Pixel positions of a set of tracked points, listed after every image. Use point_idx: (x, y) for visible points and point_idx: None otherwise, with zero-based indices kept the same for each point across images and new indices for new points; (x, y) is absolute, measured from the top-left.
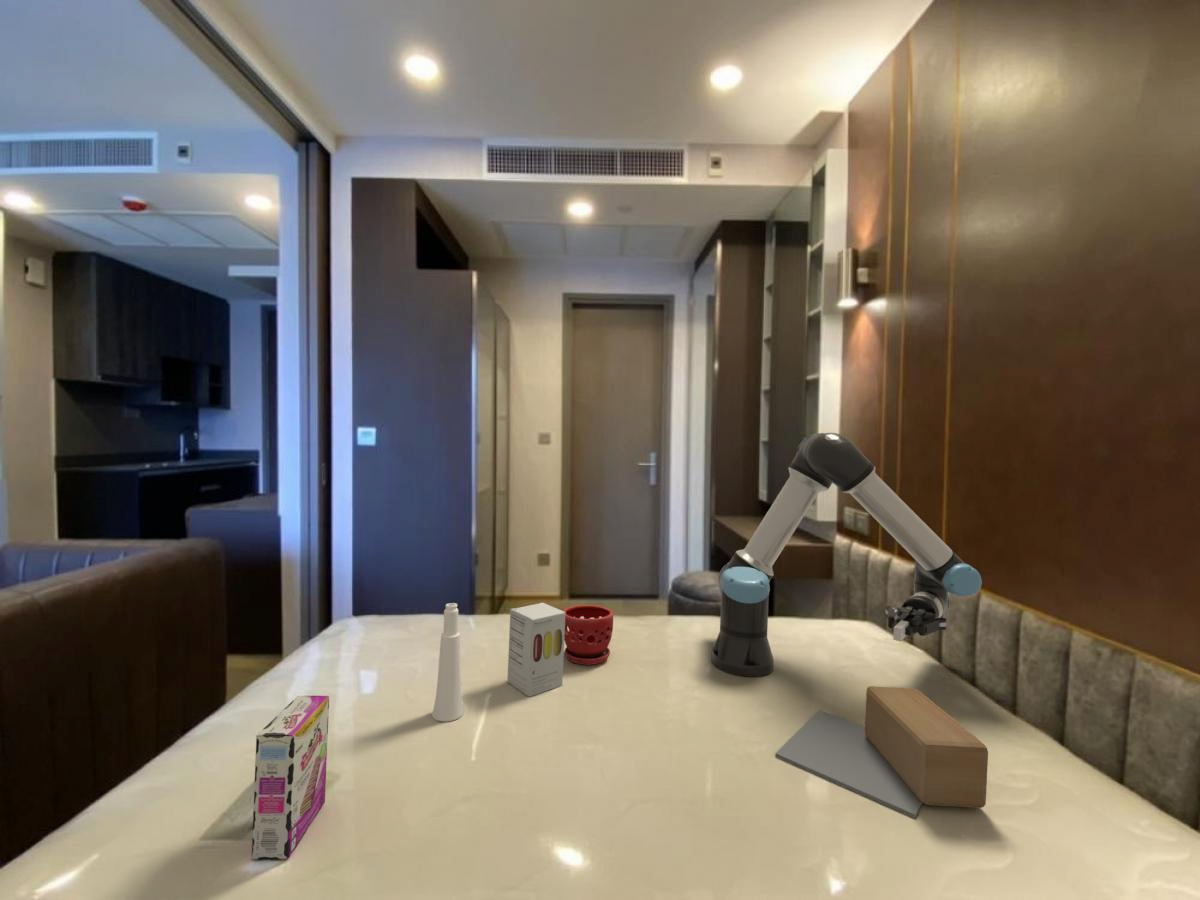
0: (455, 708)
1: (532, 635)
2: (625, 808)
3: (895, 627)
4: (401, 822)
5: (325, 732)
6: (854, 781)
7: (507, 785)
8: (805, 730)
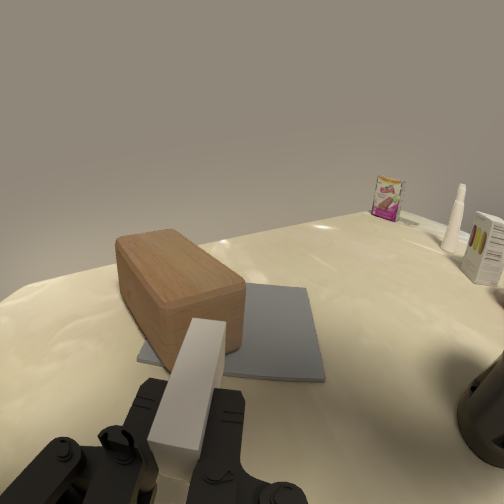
0: (443, 242)
1: (473, 223)
2: (331, 240)
3: (218, 322)
4: (373, 223)
5: (397, 193)
6: None
7: (376, 236)
8: (307, 326)
